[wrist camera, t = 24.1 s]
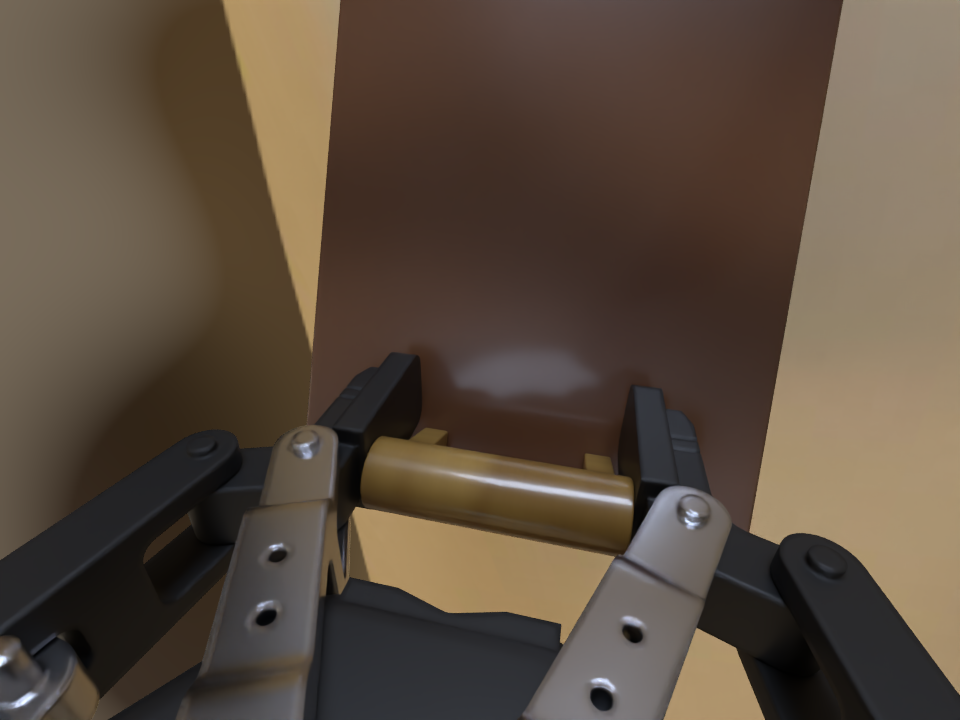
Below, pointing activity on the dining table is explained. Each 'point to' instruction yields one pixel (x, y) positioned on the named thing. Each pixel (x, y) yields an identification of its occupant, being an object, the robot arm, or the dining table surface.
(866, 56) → the dining table surface
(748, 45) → the case cover
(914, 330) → the dining table surface
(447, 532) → the dining table surface
